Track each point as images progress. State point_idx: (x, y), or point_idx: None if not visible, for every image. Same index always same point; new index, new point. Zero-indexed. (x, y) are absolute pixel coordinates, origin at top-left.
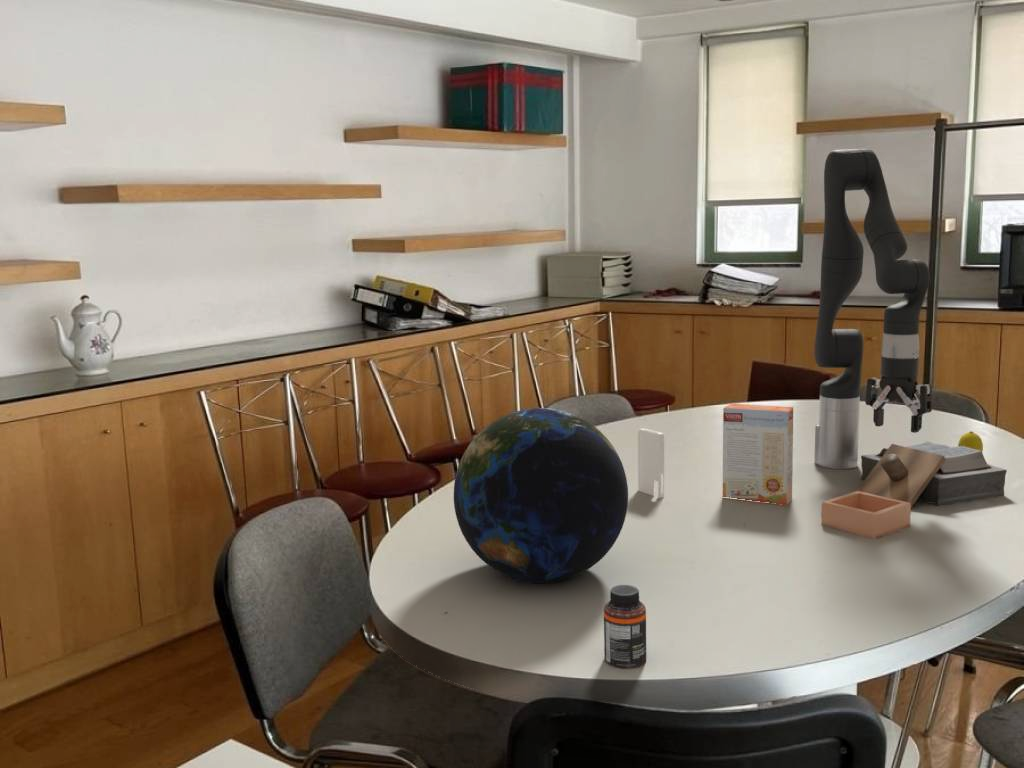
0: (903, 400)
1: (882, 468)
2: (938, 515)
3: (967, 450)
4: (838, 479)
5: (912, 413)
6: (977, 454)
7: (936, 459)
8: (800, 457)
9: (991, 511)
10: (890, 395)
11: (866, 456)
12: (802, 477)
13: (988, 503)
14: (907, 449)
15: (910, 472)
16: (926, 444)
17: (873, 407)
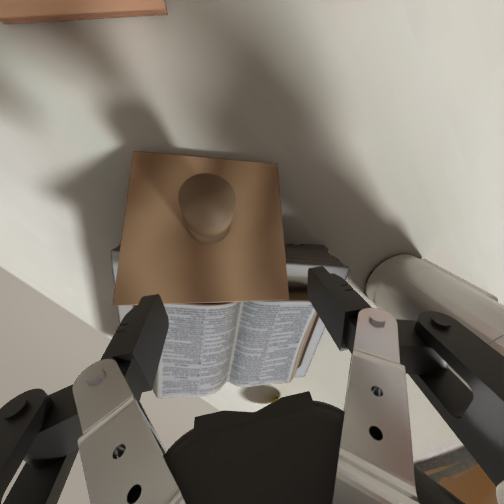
0: (151, 442)
1: (260, 227)
2: (83, 181)
3: (178, 385)
4: (355, 224)
5: (116, 364)
6: (154, 384)
7: (128, 287)
8: (455, 271)
9: (73, 277)
10: (313, 448)
11: (337, 270)
12: (409, 182)
13: None
14: (234, 295)
15: (180, 233)
16: (279, 371)
17: (381, 312)
